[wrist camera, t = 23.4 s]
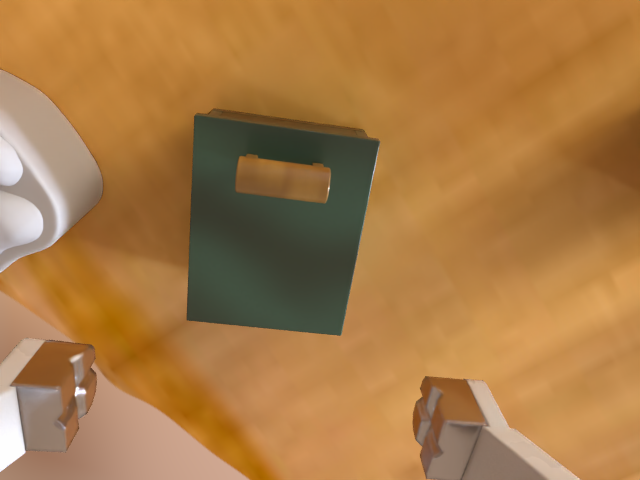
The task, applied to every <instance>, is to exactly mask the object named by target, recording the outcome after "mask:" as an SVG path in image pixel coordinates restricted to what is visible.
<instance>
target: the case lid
mask: <svg viewBox="0 0 640 480" xmlns="http://www.w3.org/2000/svg"><path fill="white" fill-rule="evenodd" d="M379 146H380V140H379V139H377V138H370V137H363V136H356V135H349V134H342V133H334V132H327V131H320V130H313V129H306V128H299V127H292V126H285V125H278V124H271V123H264V122H257V121H250V120H242V119H235V118H228V117H221V116H214V115H207V114H200V113H197V114H195V116H194V140H193V166H192V192H191V218H190V244H189V270H188V296H187V320H189V321H199V322H209V323H219V324H229V325H239V326H249V327H259V328H269V329H279V330H289V331H299V332H309V333H319V334H329V335H339V336H341V334H342V329H343V324H344V319H345V314H346V309H347V304H348V299H349V294H350V289H351V284H352V279H353V275H354V270H355V265H356V260H357V255H358V250H359V245H360V240H361V235H362V230H363V225H364V220H365V215H366V210H367V205H368V200H369V195H370V190H371V185H372V180H373V175H374V170H375V165H376V160H377V156H378V151H379Z"/></svg>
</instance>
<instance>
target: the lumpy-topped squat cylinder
mask: <svg viewBox="0 0 640 480" xmlns="http://www.w3.org/2000/svg"><path fill="white" fill-rule="evenodd" d="M102 192H103V180H102V175H101V172H100V169H99V167H98V165H97V163H96V161H95V159H94V158H93V156H92V154H91V153H90V151H89V150H88V148H87V147H86V145H85V143H84V142H83V140H82V139H81V137H80V136H79V134H78V133H77V132H76V130H75V129H74V128H73V126H72V125H71V124H70V122H69V121H68V120H67V118H66V117H65V116H64V115H63V114H62V112H61V111H60V110H59V109H58V108H57V106H56V105H55V104H54V103H53V102H52V101H51V100H50V99H49V98H48V97H47V96H46V95H45V94H44V93H42V92H41V91H40V90H38V89H37V88H35V87H34V86H32V85H30V84H29V83H27V82H25V81H23V80H21V79H20V78H18V77H16V76H14V75H12V74H10V73H8V72H6V71H4V70H1V69H0V273H1V272H2V271H4V270H5V269H6V268H7V267H8V266H10V265H11V264H12V263H13V262H14V261H16V260H17V259H19V258H21V257H24V256H26V255H29V254H32V253H35V252H39V251H41V250H44V249H46V248H48V247H50V246H51V245H53V244H54V243H55V242H56V241H57V240H58V239H59V238H60V237H62V236H63V235H64V234H65V233H66V232H67V231H68V230H69V229H70V228H71V227H73V226H74V225H75V224H76V223H77V222H78V221H79V220H80V219H81V218H82V217H83V216H84V215H86V214H87V213H88V212H89V211H90V210H91V209H92V208H93V207H94V206H95V205H96V204H97V203H98V202H99V201H100V199H101V196H102Z"/></svg>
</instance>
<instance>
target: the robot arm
mask: <svg viewBox="0 0 640 480" xmlns="http://www.w3.org/2000/svg"><path fill="white" fill-rule="evenodd" d="M94 360H95V349H94V347H93V346H92V345H89V344H80V343H71V342H63V341H55V340H42V339H34V338H25V339H23V340H21V341H20V342H19V343H18V344H17V345H16V347H15V348H14V349H13V350H12V351H11V352H10V353H9V355H8V356H7V357H6V358H5V359H4V360H3V361H2V363H1V364H0V471H2V470H3V469H4V468H6V467H7V466H8V465H10V464H11V463H12V462H14V461H15V460H16V459H18V458H19V457H20V456H22V455H23V454H24V453H25V451H47V452H66V451H67V449H68V448H69V446H70V444H71V442H72V440H73V438H74V437H75V435H76V433H77V431H78V429H79V426H78V425H79V424H78V419H79V418H81V417H83V416H84V415H86V414H87V413H88V411H89V409H90V407H91V405H92V402H93V399H94V396H95V392H96V384H97V377H96V373H95V372H94V370H93V369H92V368H91V366H92V364H93V362H94ZM420 390H421V393H422V396H423V397H421V398H420V399H419V400H418V401H416V404H415V408H414V411H413V431H414V435H415V439H416V441H417V442H418V443H419V444H420V445H421V446H422V450H421V453H420V458H421V461H422V465H423V468H424V472H425V475H426V479H436V480H580V479H579V478H578V477H577V476H575V475H574V474H573V473H571V472H570V471H569V470H568V469H566V468H565V467H564V466H562V465H561V464H560V463H559V462H557V461H556V460H555V459H553V458H552V457H551V456H550V455H548V454H547V453H546V452H544V451H543V450H542V449H541V448H539V447H538V446H537V445H535V444H534V443H533V442H532V441H530V440H529V439H528V438H526V437H525V436H524V435H522V434H521V433H520V432H519V431H517V430H516V429H510V428H509V426H508V424H507V422H506V420H505V418H504V417H503V415H502V413H501V411H500V409H499V407H498V405H497V403H496V401H495V399H494V397H493V395H492V393H491V392H490V390H489V388H488V386H487V384H486V383H485V382H484V381H483V380H471V379H463V380H462V379H452V378H441V377H429V376H425V378H424V379H423V381H422V384H421V387H420Z"/></svg>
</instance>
